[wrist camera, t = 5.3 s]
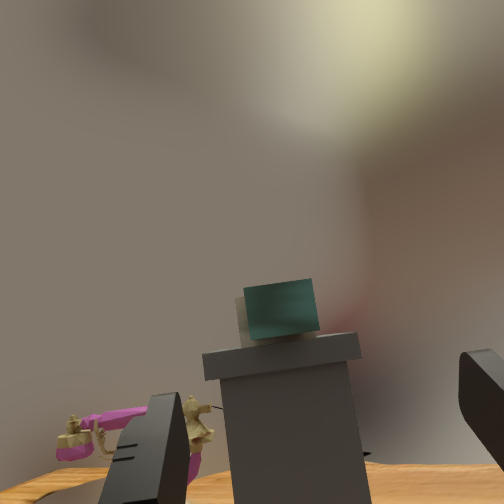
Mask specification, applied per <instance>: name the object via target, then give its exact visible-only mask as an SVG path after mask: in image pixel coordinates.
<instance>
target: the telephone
mask: <svg viewBox="0 0 504 504" xmlns="http://www.w3.org/2000/svg"><path fill="white" fill-rule="evenodd" d="M212 407H214V406H212V405H211V402H210V404H209V405H199V404H198V403H197V401H196V399H194V396H189V399H188V400H187V401H186V402H185V403H184V406H182V409H183V413H184V416H186V417H187V420H188V421H187V423H186V427H187V432H188V437H189V445H190V452H191V453H192V455H191V457H190V463H189V472H188V481H187V486H188V485H189V484H190V482H191V481H192V480H193V479H194V478H195V477H196V476H197V474H198V470H199V467H200V463H201V451H202V446H203V443H207V442H211V441H213V438H214V430H209V429H208V428H207V427H206V426H205V425H204V424H203V423H202V422H201V421H200V420H199V419H198V417H199V414H201V413H209V412H211V410H212ZM147 408H148V406H144V407H137V408H131V409H123V410H116V411H109V412H103V415H95V414H91V415H90V416H88V417H86V418H82V419H80V420H78V419H77V415H71V416H70V421H69V422H67V427H66V429H67V432H68V433H66V434H64V435H60V436H58V441H57V451H56V458H57V459H58V460H59V461H63V460H65V461H74V460H78V459H82V458H85V457H88V456H90V455H91V454H92V453H93V451H94V445H93V440H92V431H94V432H95V434H96V436H97V437H99V438H98V439H97V440H98V445H100V446H101V450H102V452H103V454H105V455H110V454H114V453H115V451H109V452H107V451H106V450H105V448H104V445H103V444H104V442H105V438H104V435H105V433H104V432H105V431H108V430H115V429H122V428H125V426H126V425H127V424H128V423H129V422H130V420H131V419H132V418H133V417H137V416H144V415H146V411H147ZM215 408H219V407H215ZM219 409H222V408H219ZM101 427H103V428H102V431H101V432H99V431H98V428H101ZM81 429H82V431H81ZM86 429H90V430H86ZM99 457H101V456H99ZM101 458H103V457H101ZM103 459H105V460H112V459H106V458H103Z"/></svg>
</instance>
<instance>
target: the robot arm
mask: <svg viewBox="0 0 504 504" xmlns="http://www.w3.org/2000/svg"><path fill="white" fill-rule="evenodd" d="M458 398H459V406H460V410H461V412H462V415H463V417H464V419H465V421H466V422H467V424H468V425H469V426H470V427H471V429H472V430H473V432H474V433H475V434H476V436H477V437H478V438H479V440H480V441H481V442H482V444H483V445H484V446H485V447H486V449H487V450H488V451H489V453H490V454H491V455H492V457H493V458H494V459H495V461H496V462H497V463H498V465H499V466H500V467H501V469H502V470H503V471H504V360H503V359H502V358H501V357H500V356H499V355H498V354H497V353H496V352H494V351H493V350H492V349H484V350H477V351H469V352H463V353H462V354H461V356H460V361H459V395H458ZM112 460H113V462H112V463H111V465H110V468H109V471H108V474H107V477H106V481H105V484H104V487H103V490H102V493H101V496H100V499H99V502H98V504H185V500H186V491H187V481H188V472H189V463H190V445H189V437H188V432H187V427H186V423H185V418H184V413H183V409H182V404H181V399H180V396H179V393H178V392H174V393H167V394H160V395H152V396H151V397H150V400H149V404H148V408H147V411H146V415H144V416H137V417H133V418H132V419H131V420H130V422H129V423H128V424H127V425H126V426H125V428H124V429H123V430H122V431H121V434H120V438H119V441H118V444H117V450H115V453H114V456H113V459H112Z"/></svg>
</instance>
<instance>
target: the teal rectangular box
mask: <svg viewBox="0 0 504 504" xmlns="http://www.w3.org/2000/svg"><path fill="white" fill-rule="evenodd" d="M243 289H244V297H238V298H235V301H236V302H235V303H236V309H237V318H238V326H239V333H240V341H241V348H247V347H254V346H261V345H268V344H275V343H282V342H289V341H296V340H303V339H310V338H317V336H316V331H318V330H320V327H319V322H318V315H317V309H316V303H315V297H314V292H313V286H312V279H311V278H310V279H303V280H296V281H289V282H282V283H275V284H268V285H261V286H254V287H247V288H243Z"/></svg>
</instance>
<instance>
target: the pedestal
mask: <svg viewBox="0 0 504 504" xmlns="http://www.w3.org/2000/svg"><path fill="white" fill-rule="evenodd" d="M202 358H203V366H204V375H205V381H208V380H215V379H220V385H221V395H222V403H223V412H224V419H225V428H226V437H227V444H228V453H229V462H230V470H231V478H232V487H233V495H234V503H235V504H372V502H371V496H370V490H369V485H368V479H367V473H366V468H365V462H364V456H363V451H362V445H361V440H360V434H359V428H358V423H357V417H356V411H355V405H354V400H353V394H352V389H351V384H350V378H349V371H348V366H347V361H348V360H355V359H362V356H361V350H360V345H359V340H358V334H357V332H351V333H340V334H329V335H321V336H317V338H310V339H303V340H296V341H289V342H282V343H275V344H268V345H261V346H254V347H247V348H241V347H237V348H230V349H223V350H217V351H213V352H209V353H204V354H202Z"/></svg>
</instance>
